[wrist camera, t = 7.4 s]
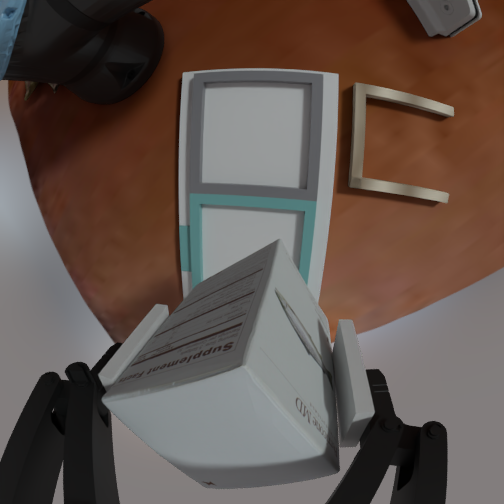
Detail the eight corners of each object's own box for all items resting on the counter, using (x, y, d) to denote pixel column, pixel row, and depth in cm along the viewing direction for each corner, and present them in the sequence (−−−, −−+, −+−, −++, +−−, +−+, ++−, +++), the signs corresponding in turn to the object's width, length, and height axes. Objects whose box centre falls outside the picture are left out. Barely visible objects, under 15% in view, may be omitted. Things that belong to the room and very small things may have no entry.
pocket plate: (186, 297, 39) (181, 304, 37) (185, 74, 28) (179, 70, 26) (315, 312, 36) (316, 320, 35) (337, 76, 26) (339, 71, 24)
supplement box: (330, 319, 20) (345, 476, 8) (246, 353, 22) (202, 491, 10) (282, 233, 18) (247, 364, 6) (194, 280, 20) (94, 402, 9)
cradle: (347, 185, 30) (350, 187, 29) (353, 85, 26) (355, 82, 25) (442, 200, 29) (447, 203, 27) (448, 108, 25) (453, 107, 23)
